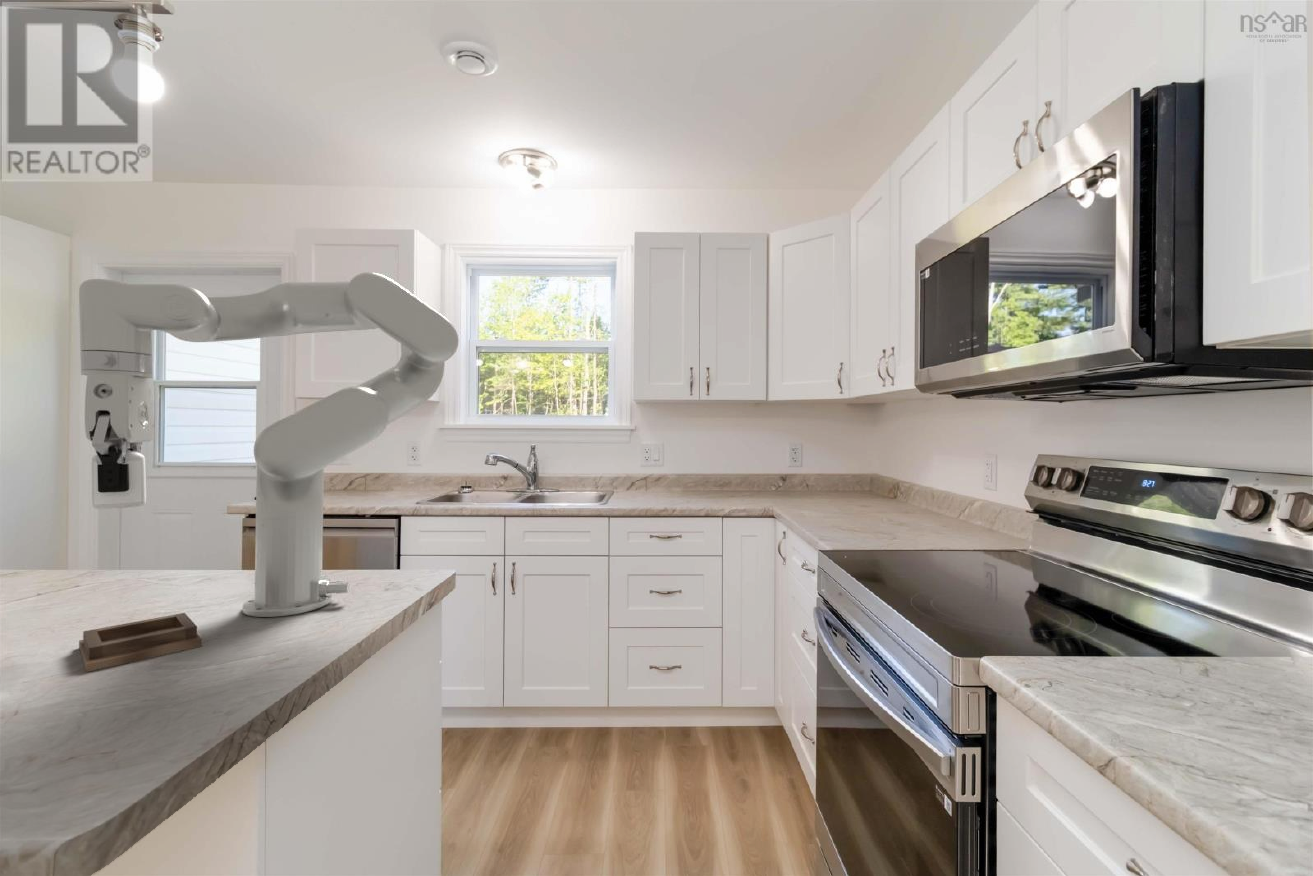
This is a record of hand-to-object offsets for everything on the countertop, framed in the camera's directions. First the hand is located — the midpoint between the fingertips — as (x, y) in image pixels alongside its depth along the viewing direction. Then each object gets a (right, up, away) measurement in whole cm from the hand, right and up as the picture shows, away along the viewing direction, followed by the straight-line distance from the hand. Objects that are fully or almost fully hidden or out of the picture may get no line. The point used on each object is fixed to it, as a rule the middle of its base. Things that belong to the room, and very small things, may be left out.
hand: (120, 488), depth 80 cm
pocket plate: (+9, -21, -6) cm, 24 cm away
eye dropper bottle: (0, -3, 0) cm, 3 cm away
